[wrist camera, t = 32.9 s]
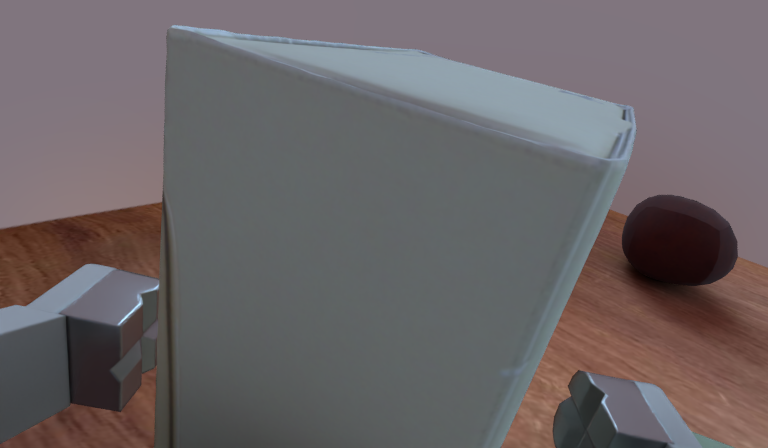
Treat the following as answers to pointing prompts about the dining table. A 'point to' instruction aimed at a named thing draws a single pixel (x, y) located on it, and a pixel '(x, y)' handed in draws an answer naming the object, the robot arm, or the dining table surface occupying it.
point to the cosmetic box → (365, 241)
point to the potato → (679, 241)
